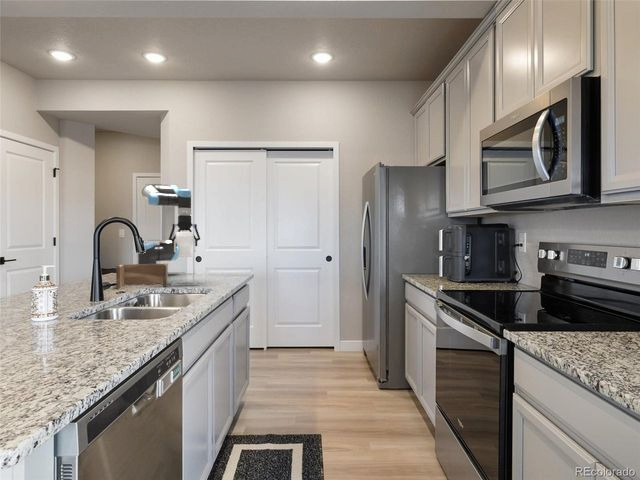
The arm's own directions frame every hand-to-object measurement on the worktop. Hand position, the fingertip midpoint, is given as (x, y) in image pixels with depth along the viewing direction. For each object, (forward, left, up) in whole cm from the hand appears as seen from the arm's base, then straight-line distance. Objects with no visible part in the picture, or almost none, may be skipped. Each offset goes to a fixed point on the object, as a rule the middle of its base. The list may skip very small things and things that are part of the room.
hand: (184, 251), depth 226 cm
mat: (0, 0, -20) cm, 20 cm away
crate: (-1, -23, -20) cm, 30 cm away
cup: (0, 0, -3) cm, 3 cm away
